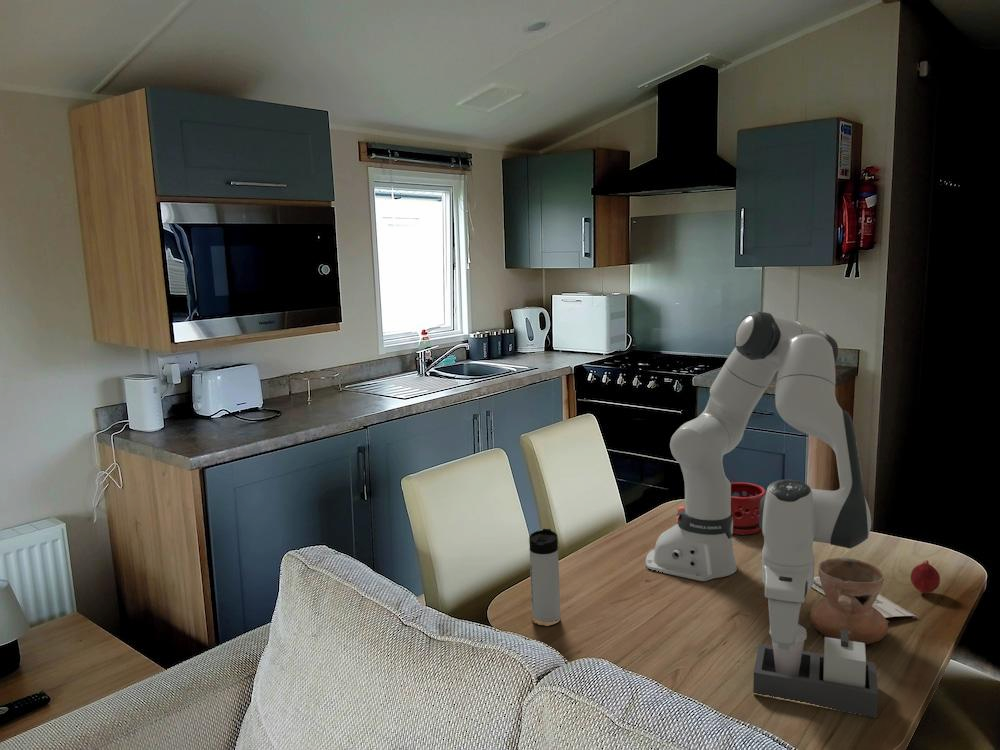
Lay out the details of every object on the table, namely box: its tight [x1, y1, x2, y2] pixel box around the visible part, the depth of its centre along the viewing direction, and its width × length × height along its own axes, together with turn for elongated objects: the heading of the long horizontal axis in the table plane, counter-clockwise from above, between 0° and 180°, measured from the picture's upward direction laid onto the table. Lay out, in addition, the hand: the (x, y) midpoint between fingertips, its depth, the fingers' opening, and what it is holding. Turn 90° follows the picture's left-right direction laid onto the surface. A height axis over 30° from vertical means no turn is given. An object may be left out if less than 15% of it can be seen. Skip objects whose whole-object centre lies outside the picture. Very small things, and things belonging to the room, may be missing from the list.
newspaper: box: [811, 575, 918, 623], centre depth 169 cm, size 23×12×2 cm, turn 12°
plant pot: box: [730, 482, 767, 536], centre depth 213 cm, size 13×13×12 cm
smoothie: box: [769, 623, 808, 676], centre depth 138 cm, size 6×6×14 cm
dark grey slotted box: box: [753, 629, 879, 719], centre depth 139 cm, size 20×16×10 cm
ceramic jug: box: [809, 557, 889, 645], centre depth 155 cm, size 18×14×14 cm
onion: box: [910, 559, 941, 595], centre depth 170 cm, size 6×6×8 cm
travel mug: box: [528, 528, 561, 622], centre depth 165 cm, size 6×7×20 cm
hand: (785, 642), depth 137 cm, fingers open, 8 cm apart
